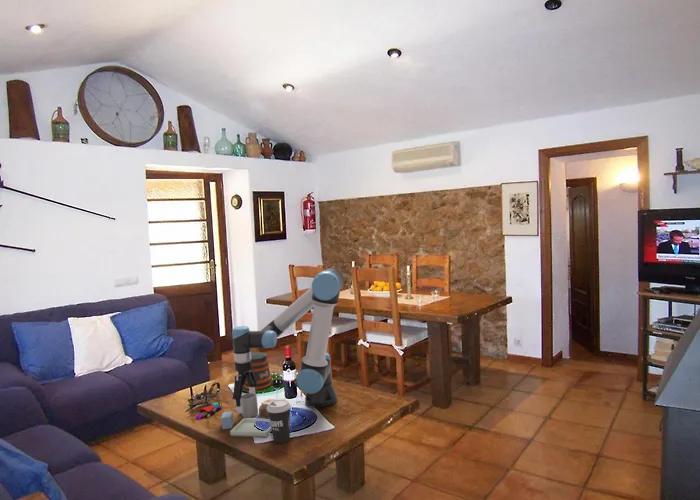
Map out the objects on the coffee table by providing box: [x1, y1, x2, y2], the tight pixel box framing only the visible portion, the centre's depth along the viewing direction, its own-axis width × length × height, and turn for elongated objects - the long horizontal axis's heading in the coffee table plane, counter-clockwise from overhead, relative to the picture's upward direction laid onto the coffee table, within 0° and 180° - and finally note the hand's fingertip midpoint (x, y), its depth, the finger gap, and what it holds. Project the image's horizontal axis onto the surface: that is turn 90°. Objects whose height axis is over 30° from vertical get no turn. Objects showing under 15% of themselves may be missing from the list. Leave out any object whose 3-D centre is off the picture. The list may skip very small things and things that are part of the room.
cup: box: [241, 392, 259, 418], centre depth 226 cm, size 7×10×9 cm
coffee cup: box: [267, 398, 292, 444], centre depth 197 cm, size 10×10×15 cm
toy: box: [195, 402, 225, 421], centre depth 231 cm, size 8×4×15 cm
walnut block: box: [258, 404, 269, 418], centre depth 221 cm, size 5×5×5 cm
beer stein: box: [243, 351, 273, 391], centre depth 264 cm, size 19×15×20 cm
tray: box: [229, 417, 271, 438], centre depth 209 cm, size 16×13×2 cm
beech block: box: [260, 397, 278, 405], centre depth 230 cm, size 6×4×4 cm, turn 148°
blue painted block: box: [220, 411, 234, 430], centre depth 215 cm, size 4×6×5 cm, turn 7°
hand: (246, 406), depth 226 cm, fingers open, 13 cm apart
